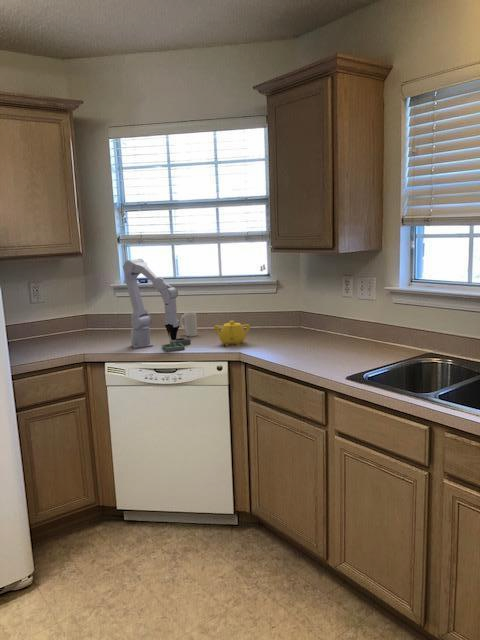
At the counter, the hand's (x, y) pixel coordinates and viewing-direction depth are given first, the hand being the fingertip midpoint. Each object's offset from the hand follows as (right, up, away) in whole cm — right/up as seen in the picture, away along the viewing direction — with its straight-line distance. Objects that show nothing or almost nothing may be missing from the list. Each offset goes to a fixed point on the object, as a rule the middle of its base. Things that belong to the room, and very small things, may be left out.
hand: (172, 339), depth 268 cm
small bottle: (0, -3, +1) cm, 3 cm away
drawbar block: (+3, -3, +11) cm, 12 cm away
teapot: (+30, -3, +4) cm, 30 cm away
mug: (+5, +1, +33) cm, 33 cm away
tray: (0, -5, +1) cm, 5 cm away
